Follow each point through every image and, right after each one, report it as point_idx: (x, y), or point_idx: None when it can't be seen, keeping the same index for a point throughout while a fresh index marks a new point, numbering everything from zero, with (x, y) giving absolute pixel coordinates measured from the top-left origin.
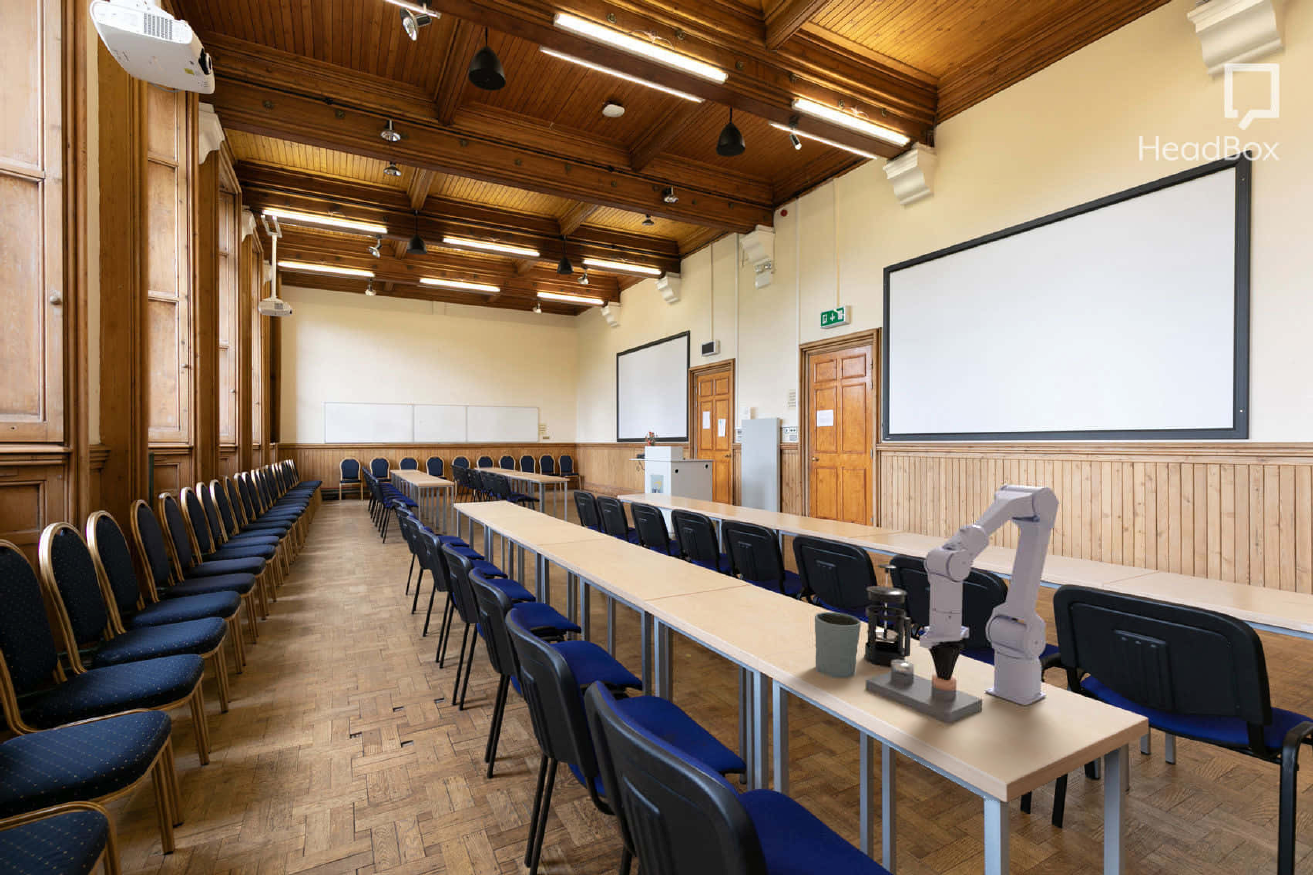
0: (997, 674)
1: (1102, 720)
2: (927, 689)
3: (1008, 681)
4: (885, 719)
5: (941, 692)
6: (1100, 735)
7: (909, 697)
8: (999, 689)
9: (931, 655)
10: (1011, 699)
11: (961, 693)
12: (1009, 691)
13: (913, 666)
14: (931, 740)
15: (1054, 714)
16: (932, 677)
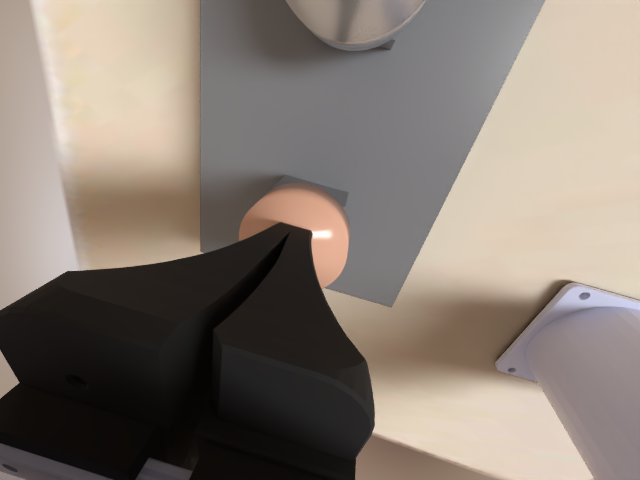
0: (613, 372)
1: (500, 455)
2: (345, 140)
3: (561, 387)
4: (68, 80)
5: None
6: (409, 441)
7: (201, 108)
8: (561, 332)
9: (187, 258)
10: (515, 345)
11: (398, 253)
12: (538, 358)
13: (358, 42)
14: (98, 223)
15: (477, 402)
16: (256, 204)
